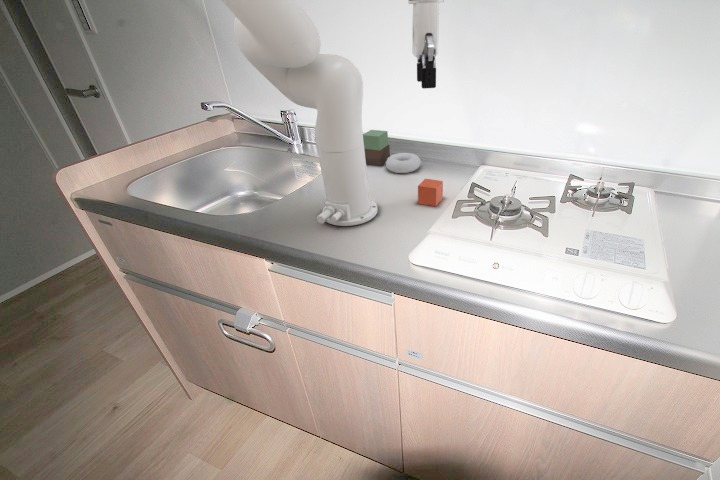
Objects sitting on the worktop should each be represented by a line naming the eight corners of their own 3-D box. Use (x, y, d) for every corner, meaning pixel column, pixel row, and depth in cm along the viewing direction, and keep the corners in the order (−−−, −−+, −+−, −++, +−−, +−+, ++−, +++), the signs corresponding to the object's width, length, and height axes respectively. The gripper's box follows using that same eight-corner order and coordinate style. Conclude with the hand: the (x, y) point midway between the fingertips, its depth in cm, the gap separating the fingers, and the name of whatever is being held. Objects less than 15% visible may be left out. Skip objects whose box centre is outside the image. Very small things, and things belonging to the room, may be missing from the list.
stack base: (381, 166, 107) (380, 151, 104) (363, 164, 109) (362, 149, 106) (390, 159, 111) (389, 144, 109) (373, 157, 113) (371, 142, 111)
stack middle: (379, 150, 104) (378, 136, 102) (363, 148, 107) (361, 134, 104) (388, 144, 108) (387, 131, 106) (372, 143, 111) (371, 129, 108)
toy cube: (436, 206, 84) (436, 188, 81) (418, 203, 86) (417, 185, 83) (442, 198, 87) (442, 180, 85) (425, 195, 89) (425, 178, 86)
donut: (392, 161, 110) (381, 173, 102) (391, 150, 108) (380, 161, 100) (424, 163, 107) (415, 176, 99) (424, 152, 105) (415, 163, 97)
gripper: (405, -3, 83) (407, 79, 93) (412, -6, 69) (413, 92, 79) (437, -5, 84) (436, 78, 94) (451, -8, 70) (447, 90, 79)
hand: (426, 84), depth 86 cm, fingers open, 9 cm apart
